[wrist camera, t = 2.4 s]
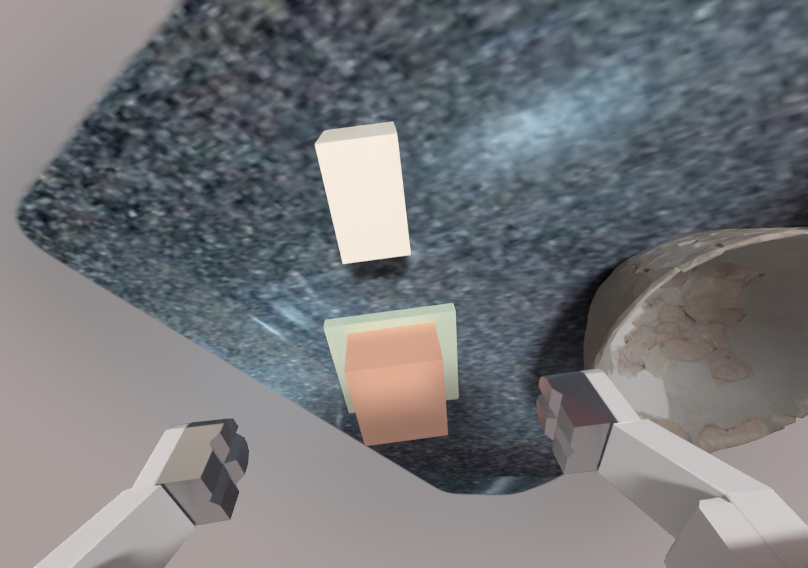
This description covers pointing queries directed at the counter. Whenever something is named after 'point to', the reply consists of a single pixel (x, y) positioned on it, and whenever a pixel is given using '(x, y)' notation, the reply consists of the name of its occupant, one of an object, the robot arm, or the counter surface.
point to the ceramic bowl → (708, 334)
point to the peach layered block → (397, 370)
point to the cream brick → (365, 191)
